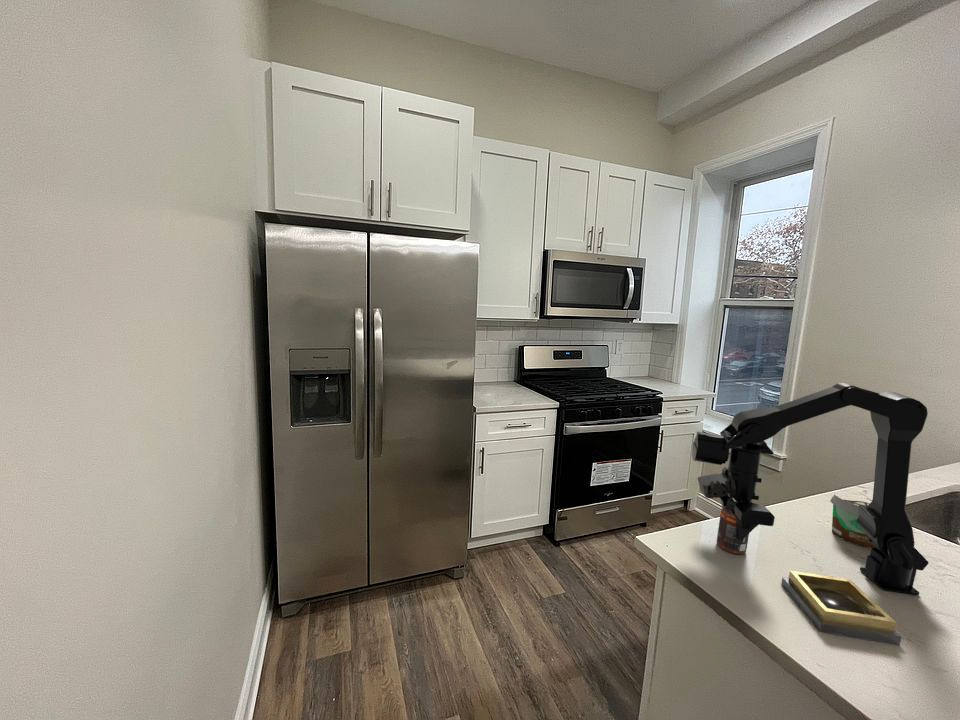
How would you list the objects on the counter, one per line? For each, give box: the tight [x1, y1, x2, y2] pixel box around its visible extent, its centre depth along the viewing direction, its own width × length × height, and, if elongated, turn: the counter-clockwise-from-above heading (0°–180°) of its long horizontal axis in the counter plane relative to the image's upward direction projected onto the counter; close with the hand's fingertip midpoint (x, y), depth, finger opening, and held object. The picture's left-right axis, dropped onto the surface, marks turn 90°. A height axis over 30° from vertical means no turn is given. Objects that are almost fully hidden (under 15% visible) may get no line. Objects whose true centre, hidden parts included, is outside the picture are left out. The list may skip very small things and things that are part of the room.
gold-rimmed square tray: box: [780, 570, 903, 646], centre depth 74 cm, size 12×12×4 cm
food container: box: [829, 493, 875, 549], centre depth 95 cm, size 12×6×10 cm, turn 68°
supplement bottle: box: [716, 498, 750, 555], centre depth 91 cm, size 6×6×11 cm
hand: (733, 531), depth 92 cm, fingers closed on supplement bottle, 6 cm apart
